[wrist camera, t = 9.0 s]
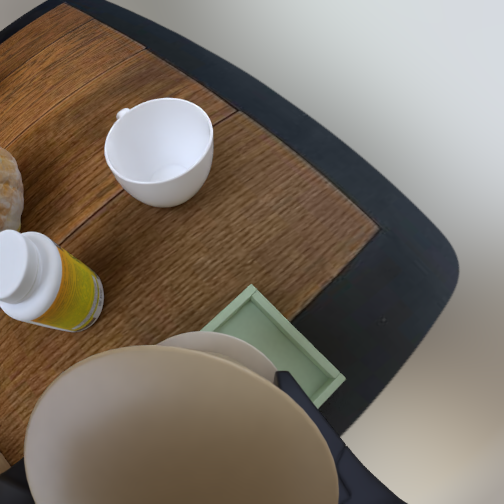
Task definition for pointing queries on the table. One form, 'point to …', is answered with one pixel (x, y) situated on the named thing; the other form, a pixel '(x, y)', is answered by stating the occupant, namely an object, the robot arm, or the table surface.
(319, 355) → the mint green tray
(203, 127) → the cup
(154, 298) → the table surface
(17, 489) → the robot arm
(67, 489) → the tan cylindrical piece
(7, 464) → the stand
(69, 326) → the supplement bottle
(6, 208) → the fruit
